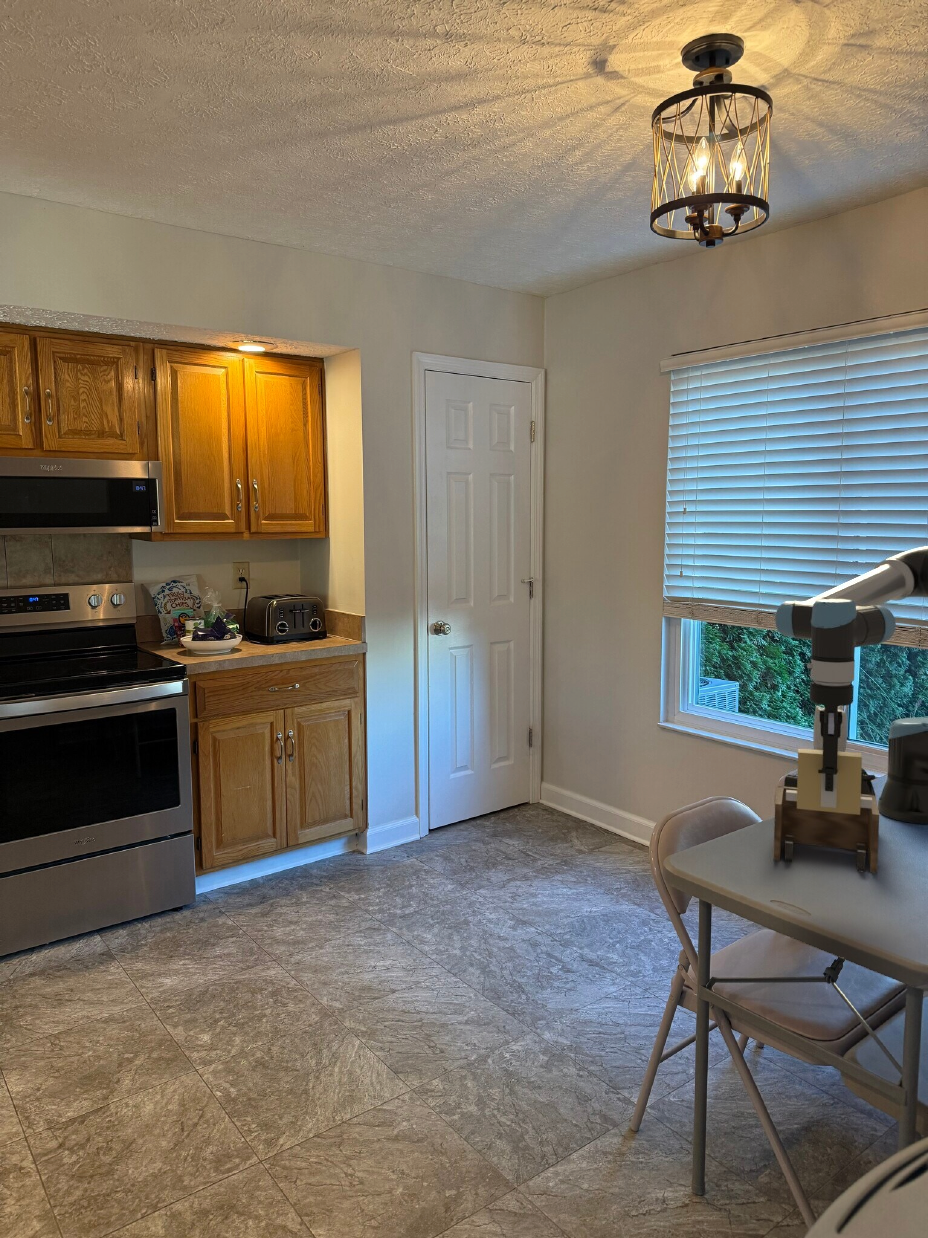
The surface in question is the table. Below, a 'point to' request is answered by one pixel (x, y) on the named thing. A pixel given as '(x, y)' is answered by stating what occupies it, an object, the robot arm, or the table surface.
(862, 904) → the table surface
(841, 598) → the robot arm
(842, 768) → the yellow rectangular block
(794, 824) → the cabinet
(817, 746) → the skyscraper
